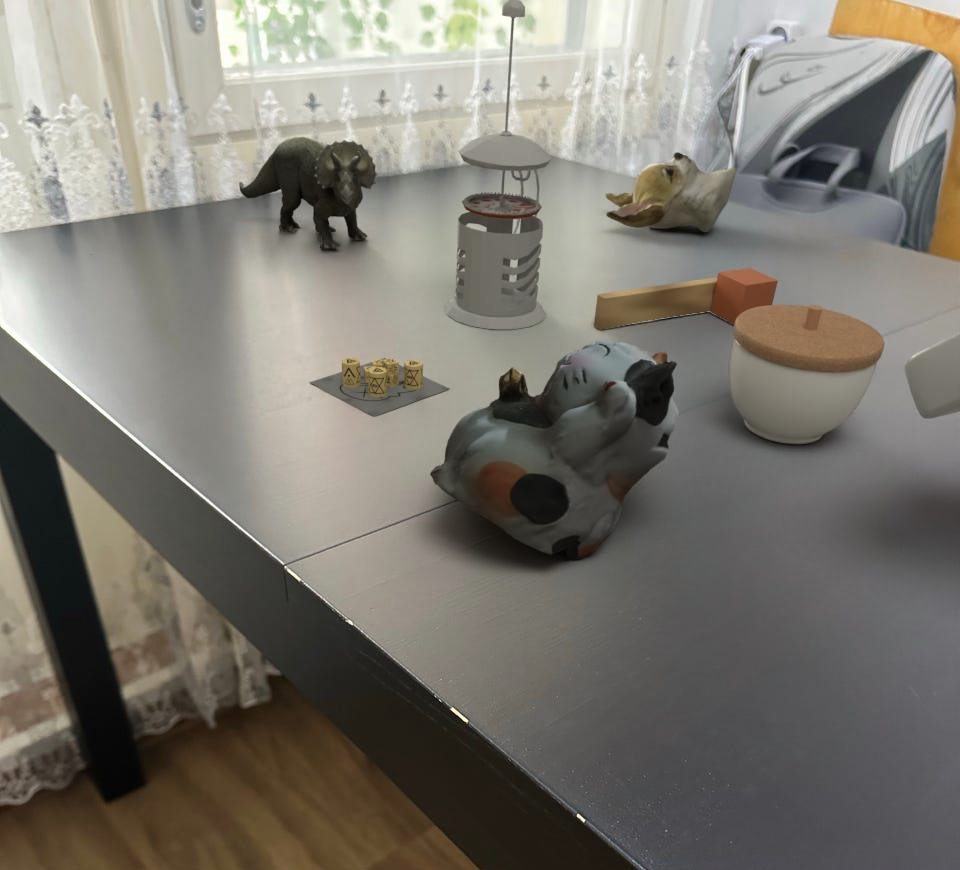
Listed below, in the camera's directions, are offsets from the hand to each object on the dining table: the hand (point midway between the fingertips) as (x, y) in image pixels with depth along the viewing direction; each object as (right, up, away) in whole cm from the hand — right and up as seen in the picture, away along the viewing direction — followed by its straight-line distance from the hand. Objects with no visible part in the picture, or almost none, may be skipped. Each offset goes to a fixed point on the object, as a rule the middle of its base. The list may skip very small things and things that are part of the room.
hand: (954, 397), depth 61 cm
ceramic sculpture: (-8, +35, +56) cm, 66 cm away
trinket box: (-7, +1, +14) cm, 15 cm away
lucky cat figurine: (-26, -7, +2) cm, 27 cm away
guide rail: (-13, +16, +31) cm, 37 cm away
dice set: (-39, +5, +16) cm, 42 cm away
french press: (-29, +16, +31) cm, 45 cm away
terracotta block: (-5, +16, +32) cm, 37 cm away
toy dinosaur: (-49, +30, +46) cm, 73 cm away
